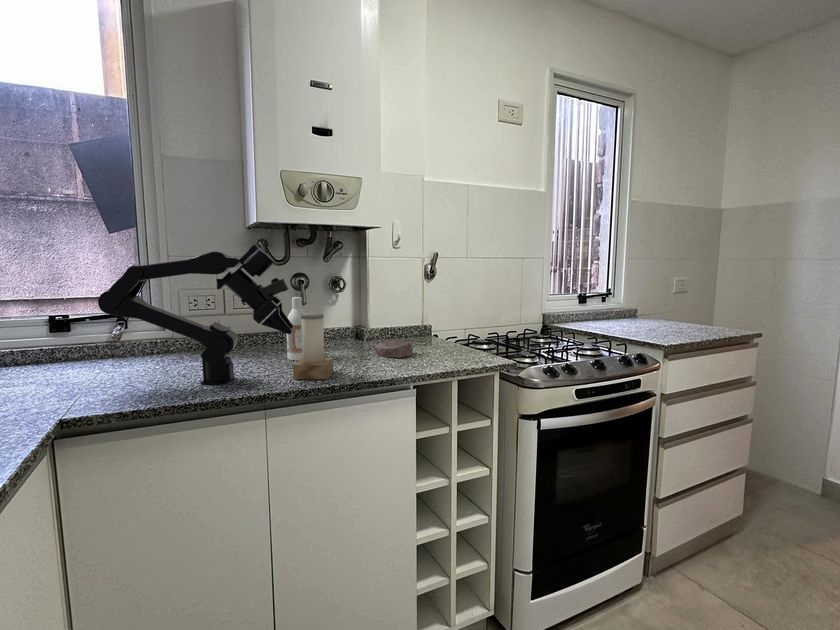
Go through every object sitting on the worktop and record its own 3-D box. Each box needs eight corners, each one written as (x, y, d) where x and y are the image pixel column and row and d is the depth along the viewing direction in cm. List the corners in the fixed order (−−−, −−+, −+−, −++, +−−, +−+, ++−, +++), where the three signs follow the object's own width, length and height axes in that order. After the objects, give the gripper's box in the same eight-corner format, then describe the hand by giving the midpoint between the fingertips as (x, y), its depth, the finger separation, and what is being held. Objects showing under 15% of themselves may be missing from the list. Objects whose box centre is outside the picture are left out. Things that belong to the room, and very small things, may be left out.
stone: (371, 355, 148) (370, 342, 147) (388, 351, 155) (388, 338, 155) (397, 360, 141) (397, 345, 140) (415, 356, 148) (415, 342, 147)
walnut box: (293, 379, 117) (293, 365, 117) (302, 371, 126) (301, 357, 126) (327, 379, 117) (326, 365, 117) (333, 371, 126) (333, 357, 126)
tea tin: (298, 362, 119) (296, 315, 117) (309, 358, 125) (307, 313, 123) (318, 364, 117) (317, 316, 116) (328, 359, 123) (327, 313, 122)
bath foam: (291, 362, 138) (289, 298, 135) (284, 358, 143) (282, 297, 141) (312, 359, 141) (310, 297, 139) (305, 355, 147) (303, 296, 145)
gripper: (265, 268, 106) (313, 313, 110) (272, 267, 124) (312, 305, 128) (232, 301, 105) (281, 344, 109) (243, 295, 123) (285, 332, 127)
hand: (291, 330), depth 119 cm, fingers open, 9 cm apart
